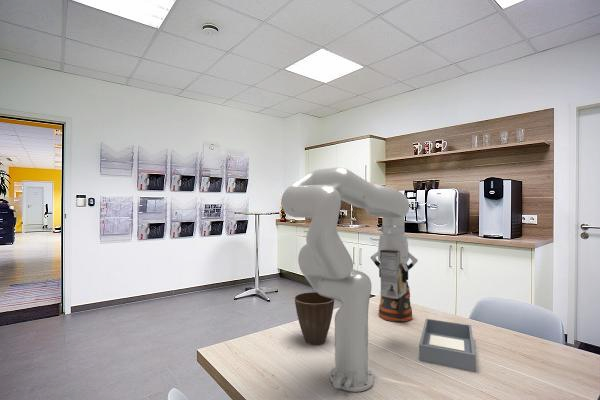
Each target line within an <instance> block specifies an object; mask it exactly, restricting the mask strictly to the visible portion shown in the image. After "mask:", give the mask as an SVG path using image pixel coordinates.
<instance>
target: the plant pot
mask: <svg viewBox="0 0 600 400" xmlns="http://www.w3.org/2000/svg"><path fill="white" fill-rule="evenodd" d="M294 305H295V310H296V315H297V320H298V324H299V326H300V330H301V332H302V336H303V338H304V341H305V343H306V344H309V345H313V346H314V345H315V346H316V345H317V346H318V345H322V344H324V343H325V342H326V339H327V336H328V334H329V330H330V327H331V323H332V317H333V313H334V308H335V307H334V306H335V300H334V299H330V298H327V297H323V296H321V295H319V294H318V293H317V292H316V291H315V292H313V291H312V292H311V291H310V292H303V293H299V294H297V295H295V297H294Z"/></svg>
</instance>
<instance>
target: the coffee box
mask: <svg viewBox="0 0 600 400" xmlns="http://www.w3.org/2000/svg"><path fill="white" fill-rule="evenodd" d="M379 262H380V270H381V277H380V291H381V292H380V293H381V294H380V297H381V296H384V297H390V298H395V299H398V298H400V297H401V296H403V295H404V294H405V293H406V283H404V282H403V271H404V268H403V266H402V264H400V251H391V250H381V251H380V261H379Z"/></svg>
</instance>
